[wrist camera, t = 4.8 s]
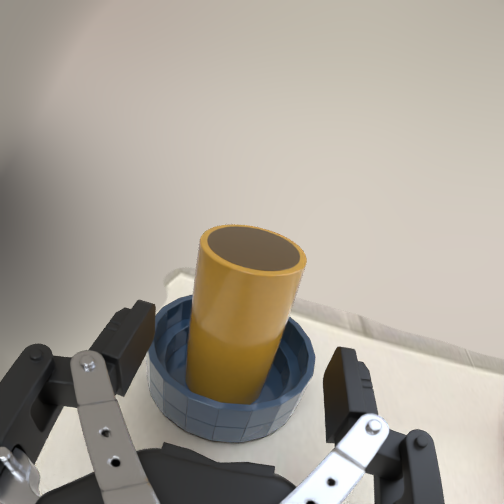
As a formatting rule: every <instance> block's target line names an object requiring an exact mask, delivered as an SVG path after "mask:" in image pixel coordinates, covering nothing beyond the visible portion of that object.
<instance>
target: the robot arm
mask: <svg viewBox="0 0 504 504" xmlns="http://www.w3.org/2000/svg"><path fill="white" fill-rule="evenodd" d="M155 310H156V307H155V304H152V303H149V302H145V301H142V300H138V301H137V302H136V303H135V305H134V306H133V308H132V309H129V308H123V309H122V310H120V311H118V312H116V313H115V315H114V316H113V317H112V319H111V320H110V322H109V323H108V324H107V325H106V328H104V329H103V331H102V332H101V334H100V335H99V336H98V338H97V339H96V340H95V342H94V343H93V345H92V346H91V347H90V349H89V350H85V351H81V352H78V353H77V354H75V355H74V356H73V357H61V356H53V354H52V351H51V350H50V348H49V347H47V346H46V345H43V344H33V345H30V346H28V347H27V348H25V349H24V351H23V352H22V353H21V355H20V356H19V357H18V359H17V360H16V361H15V362H14V364H13V365H12V367H11V368H10V369H9V371H8V372H7V373H6V375H5V376H4V378H3V379H2V381H1V382H0V504H341V503H342V502H343V501H344V499H345V498H346V497H347V496H348V494H349V493H350V492H351V491H352V489H353V488H354V487H355V485H356V484H357V483H358V482H359V480H360V479H361V478H362V476H363V475H364V473H368V474H371V475H374V498H375V504H445V503H444V496H443V489H442V483H441V477H440V471H439V466H438V461H437V456H436V451H435V446H434V442H433V439H432V437H431V436H430V435H429V434H428V433H427V432H425V431H423V430H419V429H416V430H412V431H410V432H409V433H408V434H407V435H405V434H402V433H399V432H396V431H393V430H391V429H389V426H388V424H387V422H386V421H385V420H384V419H383V418H382V417H381V416H379V415H378V411H377V406H376V401H375V396H374V391H373V389H372V388H373V386H372V382H371V377H370V373H369V370H368V368H367V367H366V365H365V364H364V363H363V362H360V361H358V360H357V355H356V351H355V349H351V348H345V347H337V348H336V350H335V352H334V354H333V356H332V358H331V360H330V362H329V364H328V366H327V368H326V370H325V373H324V377H323V392H324V408H325V427H326V443H335V448H334V449H333V450H332V451H331V452H330V453H329V454H328V455H327V456H326V458H325V459H324V460H323V461H322V462H321V463H320V464H319V465H318V466H317V467H316V468H315V469H314V470H313V471H312V472H311V473H310V474H309V476H308V477H307V478H306V479H305V480H304V481H303V482H302V483H301V484H300V485H299V486H297V487H296V486H295V485H294V484H292V483H291V482H290V481H288V480H287V479H285V478H284V477H282V476H280V475H278V474H275V473H274V470H275V466H270V465H263V464H256V463H250V462H231V463H220V462H216V461H213V460H211V459H209V458H207V457H205V456H203V455H201V454H199V453H197V452H195V451H193V450H190V449H187V448H183V447H179V446H176V445H172V444H169V443H165V442H164V443H163V446H162V449H161V448H150V449H143V450H139V451H136V450H135V448H134V445H133V443H132V440H131V438H130V435H129V432H128V429H127V427H126V424H125V421H124V418H123V415H122V413H121V410H120V407H119V404H118V401H117V399H116V398H115V395H116V394H118V395H120V396H123V397H124V396H125V394H126V392H127V390H128V388H129V386H130V384H131V382H132V380H133V378H134V376H135V374H136V372H137V370H138V369H139V367H140V365H141V363H142V361H143V359H144V357H145V355H146V353H147V352H148V350H149V348H150V346H151V344H152V342H153V339H154V334H155ZM64 406H67V407H75V408H77V409H78V414H79V418H80V423H81V427H82V431H83V435H84V438H85V442H86V446H87V449H88V453H89V456H90V460H91V463H92V466H93V469H94V472H92V473H90V474H88V475H86V476H84V477H81V478H79V479H77V480H75V481H72V482H70V483H68V484H66V485H63V486H61V487H59V488H56V489H54V490H51V491H49V492H47V493H45V494H44V495H42V496H40V493H39V483H40V474H39V471H38V469H37V468H36V467H35V462H36V460H37V458H38V456H39V454H40V452H41V450H42V448H43V446H44V444H45V442H46V440H47V438H48V436H49V434H50V432H51V430H52V428H53V426H54V424H55V422H56V420H57V418H58V416H59V414H60V412H61V410H62V409H63V407H64Z"/></svg>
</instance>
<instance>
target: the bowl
mask: <svg viewBox="0 0 504 504" xmlns="http://www.w3.org/2000/svg"><path fill="white" fill-rule="evenodd" d="M192 296H193V295H189V296H185V297H181V298H178V299H177V300H175V301H173V302H171V303H169V304H168V305H166V306H164V307H163V308H162V309H161V310H160V311H159V312H158V313H157V314H156V316H155V334H154V339H153V342H152V344H151V346H150V348H149V350H148V352H147V353H146V367H147V380H148V385H149V389H150V394H151V397H152V398H153V400H154V401H155V403H156V404H157V406H158V407H159V409H160V410H161V412H162V413H163V414H164V415H165V416H166V417H167V418H169V419H170V420H171V421H172V422H174V423H175V424H176V425H178V426H179V427H180V428H182V429H183V430H185V431H186V432H189V433H192V434H194V435H197V436H200V437H202V438H205V439H208V440H212V441H221V442H238V443H239V442H245V441H249V440H253V439H257V438H262V437H265V436H267V435H269V434H270V433H272V432H274V431H275V430H277V429H278V428H280V427H281V426H283V425H284V424H285V423H286V422H287V421H288V419H289V418H290V416H291V415H292V413H293V412H294V411H295V409H296V407H297V406H298V404H299V402H300V400H301V398H302V396H303V394H304V392H305V390H306V388H307V386H308V384H309V382H310V380H311V378H312V376H313V372H314V365H315V354H314V350H313V347H312V344H311V341H310V339H309V337H308V336H307V335H306V333H305V332H304V331H303V329H302V328H301V326H300V325H299V324H298V323H297V322H296V321H294V320H293V319H292V318H291V317H289V319H288V322H287V324H286V327H285V330H284V333H283V336H282V339H281V342H280V345H279V348H278V350H277V353H276V356H275V359H274V362H273V364H272V367H271V370H270V373H269V375H268V378H267V381H266V383H265V386H264V389H263V391H262V393H261V395H260V396H259V398H258V399H257V400H256V401H254V402H253V403H251V404H250V405H249V404H234V403H222V402H218V401H215V400H212V399H210V398H207V397H204V396H201V395H199V394H196V393H193V392H191V391H190V390H189V388H188V386H187V385H186V382H185V377H184V373H185V361H186V351H187V341H188V331H189V322H190V313H191V304H192Z"/></svg>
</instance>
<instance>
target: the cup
mask: <svg viewBox="0 0 504 504" xmlns="http://www.w3.org/2000/svg"><path fill="white" fill-rule="evenodd" d="M306 262H307V259H306V255H305V253H304V251H303V250H302V249H301V248H300V247H299V246H298V245H297V244H296V243H294V242H293V241H291V240H290V239H288V238H286V237H284V236H282V235H280V234H278V233H275V232H272V231H269V230H266V229H262V228H258V227H253V226H247V225H221V226H217V227H213V228H210V229H209V230H207V231H205V232H204V233H203V235H202V236H201V238H200V243H199V250H198V257H197V264H196V272H195V280H194V288H193V296H192V304H191V313H190V322H189V331H188V341H187V351H186V361H185V373H184V377H185V382H186V385H187V386H188V388H189V390H190V391H191V392H193V393H196V394H199V395H201V396H204V397H207V398H210V399H212V400H215V401H218V402H222V403H234V404H249V405H250V404H251V403H253V402H254V401H256V400H257V399H258V398H259V396H260V395H261V393H262V391H263V389H264V386H265V383H266V381H267V378H268V375H269V373H270V370H271V367H272V364H273V362H274V359H275V356H276V353H277V350H278V348H279V345H280V342H281V339H282V336H283V333H284V330H285V327H286V324H287V322H288V319H289V316H290V313H291V310H292V307H293V304H294V301H295V298H296V294H297V291H298V288H299V285H300V282H301V279H302V276H303V273H304V270H305V266H306Z"/></svg>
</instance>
